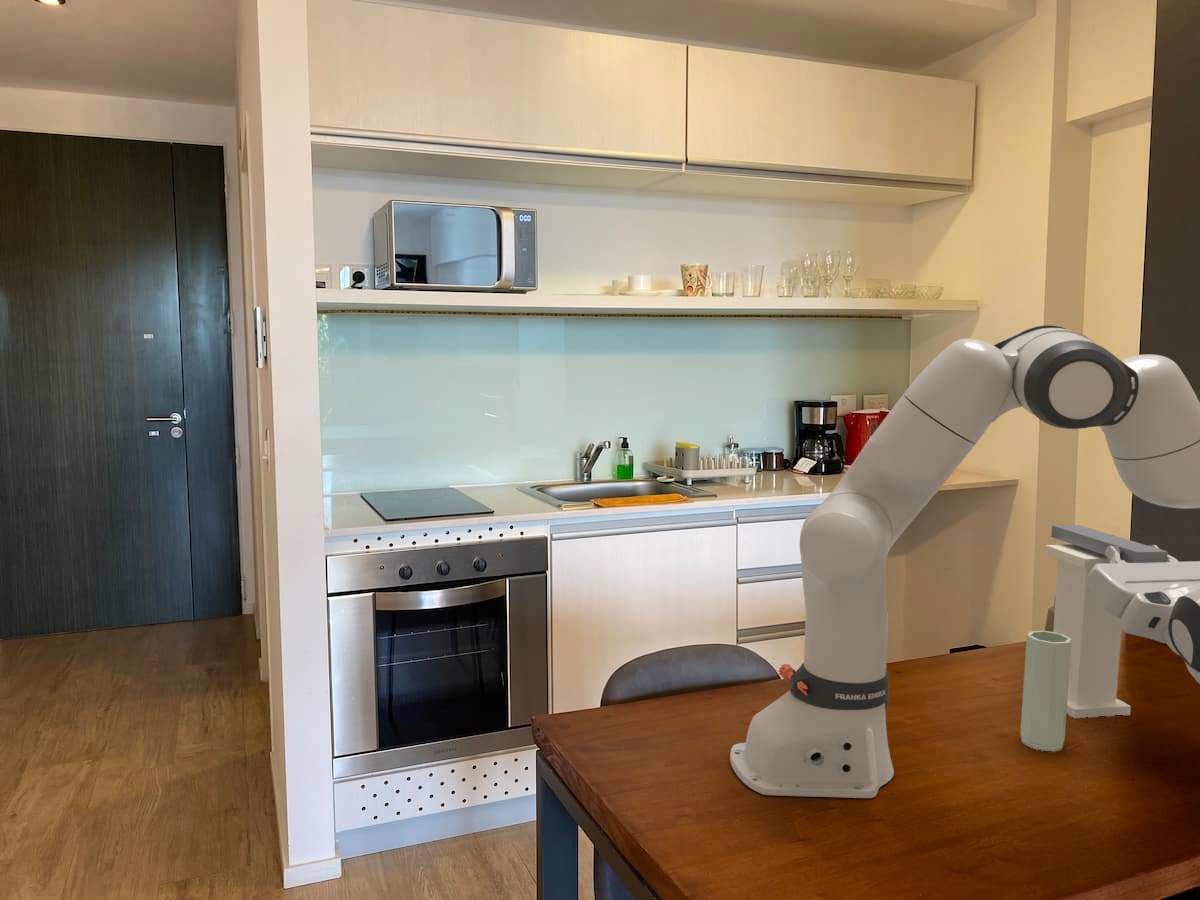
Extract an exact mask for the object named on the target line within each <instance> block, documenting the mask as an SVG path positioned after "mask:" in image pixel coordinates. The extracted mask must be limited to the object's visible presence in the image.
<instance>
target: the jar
mask: <svg viewBox="0 0 1200 900" xmlns="http://www.w3.org/2000/svg"><path fill="white" fill-rule="evenodd" d="M1071 644H1072V639H1071V638H1069V637H1067V636H1065V635H1063V634H1060V633H1054V632H1049V631H1045V630H1032V631H1031V630H1030V631H1029V632H1028V633H1027V634H1026V642H1025V653H1024V654H1025V657H1024V669H1023V670H1024V673H1023V687H1022V699H1021V700H1022V702H1021V703H1022V704H1021V715H1020V716H1021V717H1020V732H1019V733H1020V734H1019V736H1020V737H1021V739H1020V740H1021V743H1022V745H1024V746H1025V745H1026V746H1025V747H1027V746H1028V747H1027V748H1029V747H1030V749H1032V748H1033V749H1032V750H1034V749H1036V750H1035V751H1038V750H1041V751H1040V752H1043V751H1052V752H1051V753H1056V752H1055V751H1058V752H1060V751H1059V750H1061V749H1062V748H1063V749H1064V741H1065V739H1066V726H1067V725H1066V724H1067V700H1068V686H1069V672H1070V658H1071ZM1063 749H1062V750H1063ZM1062 750H1061V751H1062ZM1053 751H1054V752H1053Z"/></svg>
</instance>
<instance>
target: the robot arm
mask: <svg viewBox="0 0 1200 900" xmlns="http://www.w3.org/2000/svg"><path fill="white" fill-rule="evenodd" d="M1019 408H1023V409H1025V410H1026V411H1027V412H1029V413H1030V414H1031V415H1033V416H1035V417H1036V418H1037V419H1039V420H1040V421H1041V422H1044V423H1045V424H1047V425H1049V426H1052V427H1055V428H1059V429H1068V430H1078V429H1079V430H1080V429H1088V428H1093V427H1100V429H1101V431H1102V432H1103V435H1104V437H1105V441H1106V443H1107V446H1108V449H1109V452H1110V455H1111V458H1112V461H1113V464H1114V466H1115V468H1116V470H1117V471H1116V472H1117V473H1118V475H1119V477H1120V479H1121V481H1122V482H1123V484H1124V485H1125V487H1126V488H1127V489H1128V491H1130V492H1131V493H1132V494H1133V495H1134V496H1136V497H1137V498H1140V499H1141V500H1143V501H1145V502H1147V503H1150V504H1154V505H1157V506H1161V507H1165V508H1166V507H1167V508H1170V509H1171V508H1172V509H1200V400H1199V399H1198V397H1197V395H1196V392H1195V391H1194V389H1193V388H1192V386H1191V384H1190V382H1189V380H1188V378H1187V377H1186V376H1185V374H1184V373H1183V371H1182V370H1181V368H1180V367H1179V365H1178V364H1177V363H1176V362H1175V361H1174V360H1172V359H1171V358H1169V357H1167V356H1163V355H1161V354H1160V355H1159V354H1152V353H1151V354H1149V353H1148V354H1147V353H1146V354H1138V355H1133V356H1129V357H1126V358H1124V359H1122V360H1121V359H1120V358H1118V357H1117V356H1116V355H1114V354H1113V353H1112V352H1111V351H1109V350H1108V349H1107V348H1104V347H1103V346H1101V345H1099V344H1097V343H1096V342H1094V340H1092V339H1091V338H1089V336H1086V335H1084V334H1082V333H1080V332H1079V331H1075V330H1072V329H1068V328H1065V327H1063V326H1058V325H1051V324H1050V325H1048V324H1047V325H1039V326H1034V327H1030V328H1028V329H1026V330H1023V331H1021V332H1019V333H1017V334H1016V335H1014V336H1010V337H1009V338H1007V339H1004V340H1002V341H1000V342H997V343H996V344H992V343H990V342H987V341H984V340H981V339H977V338H968V337H967V338H961V339H958V340H955V341H953V342H952V343H950V344H949V345H948V346H947V347H945V349H943V350H942V351H941V352H940V353H939V354H938V355H937V356H936V357H935V358H934V359H933V360H931V362H930V363H929V364H928V365H927V366H926V367H924V369H923V370H922V371H921V372H920V373H919V374H918V376H917V377H916V378H915V379H914V380H913V381H912V382H911V384H910V385H909V386H908V388H907V389H905V391H904V393H903V394H902V396H900V398H899V399H898V401H896V403H895V404H894V406H893V407H892V409H891V410H890V411H889V413H888V414H887V415H886V416H885V417H884V419H883V420H882V421H881V423H880V424H879V425H878V427H877V428H876V429H875V431H874V432H873V433H872V435H871V436H870V437H869V439H868V440H867V442H865V444H864V445H863V447H862V449H861V451H860V452H859V453H858V455H857V456H856V458H855V459H854V461H853V462H852V464H851V465H850V467H849V468H848V469H847V471H846V472H845V473H844V475H843V476H842V478H840V481H838V483H837V484H836V486H835V487H834V488H833V489H832V491H831V493H830V494H829V495H828V496H826V498H825V499H824V500H823V501H822V502H821V503H820V504H819V505H818V506H816V507H815V508H814V509H813V510H812V511H811V512H810V513H809V514H808V515H807V517H806V519H805V520H804V521H803V524H802V527H801V530H800V535H799V536H800V537H799V552H800V558H801V559H800V561H801V578H802V588H803V589H802V590H803V595H804V603H805V605H804V606H805V607H804V608H805V609H804V610H805V621H804V622H805V625H804V626H805V627H804V629H805V630H804V650H803V651H804V652H803V654H804V658H803V659H804V660H803V663H801V665H800V667H799V668H798V669H797V670H795V669H794V668H793V667H792V666H791V665H790V664H788V663H783V664H781V665H780V666H781V667H779V668H778V674H779V676H780V677H782V678H783V680H784V681H786V682H790V683H789V685H790V688H789V690H788V691H787V692H785V694H783V695H782V696H780V697H779V698H777V699H776V700H775V701H773V702H771V704H769V705H767V706H766V707H765V708H763V709H762V710H760V711H759V712H757V713H756V714H755V715H754V716H753V717H752V719H751V720H750V722H749V726H748V729H747V730H748V731H747V733H746V740H745V741H744V742H740V743H735V744H733V746H732V747H731V748H730V754H729V762H730V765H731V768H732V769H733V771H734V772H735V774H736V776H737V777H738V778H739V780H741V782H743V784H744V785H746V786H747V787H748V788H750V789H751V790H753V791H755V792H757V793H759V794H761V795H764V796H781V797H782V796H783V797H784V796H787V797H813V798H814V797H817V798H818V797H819V798H820V797H821V798H823V797H824V798H847V799H848V798H849V799H850V798H854V799H873V798H875V797H876V796H877V795H878V793H879V789H880V788H881V787H882V786H884V785H886V784H887V783H888V782H890V781H891V780H892V779H893V777H894V774H895V773H894V771H895V770H894V767H893V766H894V765H893V763H892V759H891V754H890V749H889V748H890V747H889V742H888V741H889V740H888V736H887V735H888V734H887V733H888V731H887V720H886V719H887V717H886V716H887V715H886V711H887V709H888V705H889V704H888V703H889V692H890V688H889V687H890V686H889V681H890V680H889V679H890V674H889V672H888V671H887V656H888V655H887V654H888V635H889V633H888V632H889V613H888V601H887V599H888V598H887V597H888V595H887V594H888V593H887V592H888V591H887V564H888V563H887V562H888V555H889V551H890V549H892V547H893V545H894V544H895V543H896V542H897V541H898V539H899V538H900V536H901V535H902V534H903V533H904V532H905V531H906V529H907V528H908V527H909V526H910V525H911V523H912V522H913V521H914V520H915V518H916V517H918V515H919V513H921V511H922V510H923V509H924V508H925V507H926V506H927V504H928V503H929V502H930V500H932V499H933V497H934V496H935V495H936V494H937V493H938V492H939V490H940V489H941V488H942V487H943V486H944V484H945V483H946V481H948V479H949V478H950V477H951V475H952V474H953V473H954V472H955V470H956V469H957V468H958V467H959V466H960V464H961V463H962V462H963V460H964V459H966V457H967V456H968V454H969V453H970V452H971V451H972V449H973V448H974V447H975V446H976V444H977V443H978V441H980V440H981V438H983V435H984V434H985V433H986V431H987V430H988V429H989V428H990V426H991V425H992V423H994V422H995V421H996V420H997V419H998V418H999V417H1001V416H1002V415H1004V414H1006V413H1007V412H1010V411H1011V410H1015V409H1019ZM1146 545H1147V544H1146ZM1147 546H1151V547H1154V548H1157V549H1160V548H1159V547H1158V545H1155V544H1148V545H1147ZM1123 553H1124V552H1123V551H1122V550H1121V549H1120V547H1119V546H1108V547H1107V549H1106V551H1105V555H1106V556H1107V557H1108V559H1109V560H1110V563H1109V564H1096V565H1095V566H1094V567H1093V568H1092V570H1091V572H1090V574H1089V576H1088V578H1087V586H1088V588H1089V589H1090V591H1091V592H1092V594H1093V595H1094V596H1095V597H1096V599H1097V600H1098V601H1099V602H1100V604H1101V605H1102V606H1103V607H1104V608H1105V609H1106V610H1107V611H1108V612H1109V613H1110V614H1111V615H1113V616H1115V617H1117V618H1120V620H1119V623H1118V625H1119V627H1120V628H1121V630H1122V631H1121V632H1124V633H1125V634H1128V635H1133V636H1137V637H1143V638H1145V639H1150V640H1153V641H1156V642H1159V643H1163V644H1167V647H1169V648H1170V649H1171V651H1173V652H1174V653H1175V654H1176V655H1178V656H1179V657H1180V658H1181V659H1182V660H1183V661H1184V664H1185V666H1186V668H1187V670H1188V672H1189V673H1190V674H1191V676H1192V677H1193V678H1194V680H1196V682H1197V683H1198V684H1199V685H1200V560H1198V561H1197V560H1196V561H1194V560H1193V561H1192V560H1191V561H1179V560H1178V559H1177V558H1176V557H1174V556H1172V555H1170V554H1168V556H1167V562H1149V563H1126V562H1125V560H1120V558H1121V556H1122V555H1123Z"/></svg>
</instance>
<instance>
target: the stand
mask: <svg viewBox="0 0 1200 900" xmlns="http://www.w3.org/2000/svg"><path fill="white" fill-rule="evenodd" d="M1044 555H1047V556H1050V557H1053V558H1055V559H1056V560H1057V559H1058V560H1057V575H1056V588H1055V589H1056V590H1055V595H1056V600H1055V599H1054V602H1055V605H1054V606H1055V614H1054V629H1053V632H1054V633H1060V634H1063V635H1065V636H1067V637H1069V638H1071V639H1072V644H1071V658H1070V672H1069V686H1068V700H1067V714H1068V715H1067V714H1066V715H1067V716H1069V717H1071V718H1072V717H1073V719H1085V718H1086V717H1088V718H1100V717H1099V716H1106V717H1116V716H1115V715H1123V716H1131V711H1132V710H1131V709H1132V705H1129V704H1128V703H1126V702H1124V701H1123V700H1121V699H1119V698H1117V695H1118V694H1117V692H1118V681H1119V671H1120V670H1119V667H1120V655H1121V645H1122V644H1121V643H1122V632H1123V631H1122V630H1121V628H1120V627H1119V625H1118V623H1119V620H1120V618H1117V617H1115V616H1113V615H1111V614H1110V613H1109V612H1108V611H1107V610H1106V609H1105V608H1104V607H1103V606H1102V605H1101V604H1100V602H1099V601H1098V600H1097V599H1096V597H1095V596H1094V595H1093V594H1092V592H1091V591H1090V589H1089V588H1088V586H1087V578H1088V576H1089V574H1090V572H1091V570H1092V568H1093V567H1094V566H1095V565H1096V564H1109V563H1110V560H1109V559H1108V557H1107V556H1106V555H1104V554H1101V553H1098V552H1095V551H1092V550H1089V549H1086V548H1083V547H1080V546H1077V545H1074V544H1071V543H1068V544H1045V545H1044ZM1126 563H1128V562H1126Z"/></svg>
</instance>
